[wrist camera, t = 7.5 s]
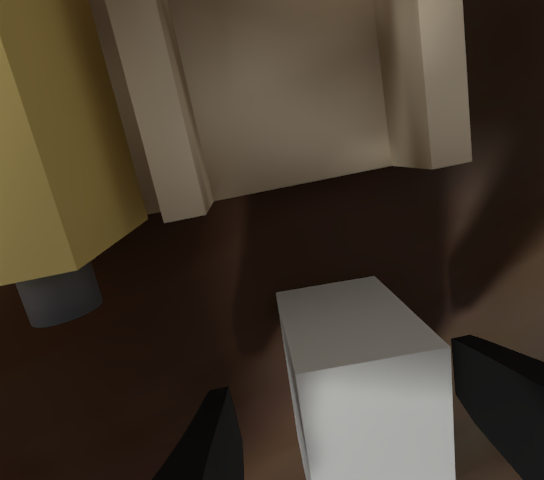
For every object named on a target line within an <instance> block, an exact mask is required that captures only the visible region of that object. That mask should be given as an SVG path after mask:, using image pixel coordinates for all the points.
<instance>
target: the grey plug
mask: <svg viewBox="0 0 544 480" xmlns="http://www.w3.org/2000/svg"><path fill="white" fill-rule="evenodd" d="M276 298H277V304H278V311H279V317H280V324H281V330H282V337H283V343H284V350H285V356H286V363H287V369H288V376H289V382H290V389H291V395H292V402H293V408H294V415H295V422H296V428H297V435H298V440H299V445H300V451H301V456H302V461H303V466H304V471H305V476H306V480H455V455H454V428H453V400H452V373H451V347H450V346H449V345H448V344H447V343H446V342H445V341H444V340H442V339H441V338H440V337H439V336H438V335H437V334H436V333H435V332H434V331H433V330H432V329H431V328H430V327H429V326H428V325H426V324H425V323H424V322H423V321H422V320H421V319H420V318H419V317H418V316H417V315H416V314H415V313H414V312H413V311H411V310H410V309H409V308H408V307H407V306H406V305H405V304H404V303H403V302H402V301H401V300H400V299H399V298H398V297H396V296H395V295H394V294H393V293H392V292H391V291H390V290H389V289H388V288H387V287H386V286H385V285H384V284H383V283H382V282H380V281H379V280H378V279H377V278H376V277H375V276H371V277H365V278H359V279H353V280H347V281H341V282H335V283H329V284H323V285H317V286H311V287H306V288H300V289H294V290H288V291H282V292H276Z"/></svg>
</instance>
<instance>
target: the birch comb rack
mask: <svg viewBox="0 0 544 480" xmlns="http://www.w3.org/2000/svg"><path fill="white" fill-rule="evenodd" d="M89 4H90V7H91V11H92V14H93V18H94V22H95V25H96V29H97V33H98V36H99V40H100V44H101V47H102V51H103V55H104V58H105V62H106V66H107V69H108V73H109V77H110V80H111V84H112V88H113V91H114V95H115V99H116V102H117V106H118V110H119V113H120V117H121V121H122V124H123V128H124V132H125V135H126V139H127V143H128V146H129V150H130V154H131V157H132V161H133V165H134V168H135V172H136V176H137V179H138V183H139V187H140V190H141V194H142V198H143V201H144V205H145V209H146V212H147V215H148V214H153V213H158V212H161V214H162V218H163V222H164V223H168V222H173V221H178V220H183V219H188V218H193V217H198V216H203V215H206V214H207V212H208V210H209V209H210V207H211V205H212V203H213V202H214V201H218V200H223V199H228V198H233V197H238V196H243V195H248V194H253V193H258V192H263V191H268V190H273V189H278V188H283V187H288V186H293V185H298V184H303V183H308V182H313V181H318V180H323V179H328V178H333V177H338V176H343V175H348V174H353V173H358V172H363V171H368V170H373V169H378V168H383V167H388V166H399V167H410V168H421V169H437V168H442V167H447V166H452V165H457V164H462V163H467V162H472V150H471V133H470V116H469V99H468V82H467V66H466V49H465V32H464V15H463V0H89Z"/></svg>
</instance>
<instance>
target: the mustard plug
mask: <svg viewBox="0 0 544 480" xmlns="http://www.w3.org/2000/svg"><path fill="white" fill-rule="evenodd" d="M147 220H148V216H147V212H146V209H145V205H144V201H143V198H142V194H141V190H140V187H139V183H138V179H137V176H136V172H135V168H134V165H133V161H132V157H131V154H130V150H129V146H128V143H127V139H126V135H125V132H124V128H123V124H122V121H121V117H120V113H119V110H118V106H117V102H116V99H115V95H114V91H113V88H112V84H111V80H110V77H109V73H108V69H107V66H106V62H105V58H104V55H103V51H102V47H101V44H100V40H99V36H98V33H97V29H96V25H95V22H94V18H93V14H92V11H91V7H90V4H89V0H0V286H2V285H7V284H12V283H15V284H16V287H17V290H18V292H19V295H20V298H21V300H22V303H23V306H24V308H25V311H26V314H27V316H28V319H29V322H30V324H31V326H32V327H36V328H43V327H50V326H55V325H59V324H62V323H66V322H69V321H72V320H74V319H77V318H79V317H82V316H84V315H86V314H88V313H90V312H92V311H93V310H95V309H96V308H98V307H99V306H100V305H101V304H102V303H103V298H102V295H101V292H100V289H99V286H98V282H97V279H96V276H95V273H94V270H93V267H92V264H91V260H92V259H94V258H95V257H97V256H98V255H99V254H101V253H102V252H104V251H105V250H106V249H108V248H109V247H111V246H112V245H113V244H115V243H116V242H117V241H119V240H120V239H122V238H123V237H124V236H126V235H127V234H129V233H130V232H131V231H133V230H134V229H135V228H137V227H138V226H140V225H141V224H142V223H144V222H145V221H147Z"/></svg>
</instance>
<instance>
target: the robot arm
mask: <svg viewBox="0 0 544 480" xmlns="http://www.w3.org/2000/svg"><path fill="white" fill-rule="evenodd" d="M451 343H452V355H453V368H454V380H455V392H456V395H457V397H458V399H459V400H460V402H461V403H462V405H463V406H464V408H465V409H466V411H467V412H468V414H469V415H470V417H471V418H472V420H473V421H474V423H475V424H476V425H477V426H478V427H479V429H480V430H481V431H482V432H483V433H484V435H485V436H486V437H487V438H488V439H489V441H490V442H491V443H492V444H493V445H494V446H495V448H496V449H497V450H498V451H499V452H500V453H501V455H502V456H503V457H504V458H505V459H506V460H507V462H508V463H509V464H510V465H511V466H512V467H513V468H514V470H515V471H516V472H517V473H518V474H519V475H520V477H521V478H522V479H523V480H544V362H543V361H540V360H537V359H534V358H532V357H529V356H526V355H524V354H521V353H518V352H516V351H513V350H511V349H508V348H505V347H503V346H500V345H498V344H495V343H492V342H490V341H487V340H484V339H481V338H478V337H475V336H472V335H467V336H462V337H457V338H453V339H451ZM152 480H244V463H243V446H242V438H241V434H240V430H239V426H238V422H237V418H236V414H235V410H234V406H233V402H232V398H231V394H230V390H229V386H228V387H223V388H219V389H214V390H210V391H209V392H208V393H207V395H206V397H205V399H204V400H203V402H202V404H201V406H200V407H199V409H198V411H197V413H196V414H195V416H194V418H193V420H192V421H191V423H190V425H189V426H188V428H187V430H186V431H185V433H184V434H183V436H182V438H181V439H180V441H179V442H178V444H177V445H176V447H175V448H174V450H173V451H172V453H171V454H170V456H169V457H168V458H167V460H166V461H165V463H164V464H163V466H162V467H161V468H160V470H159V471H158V472H157V474H156V475H155V476H154V478H153V479H152Z"/></svg>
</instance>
